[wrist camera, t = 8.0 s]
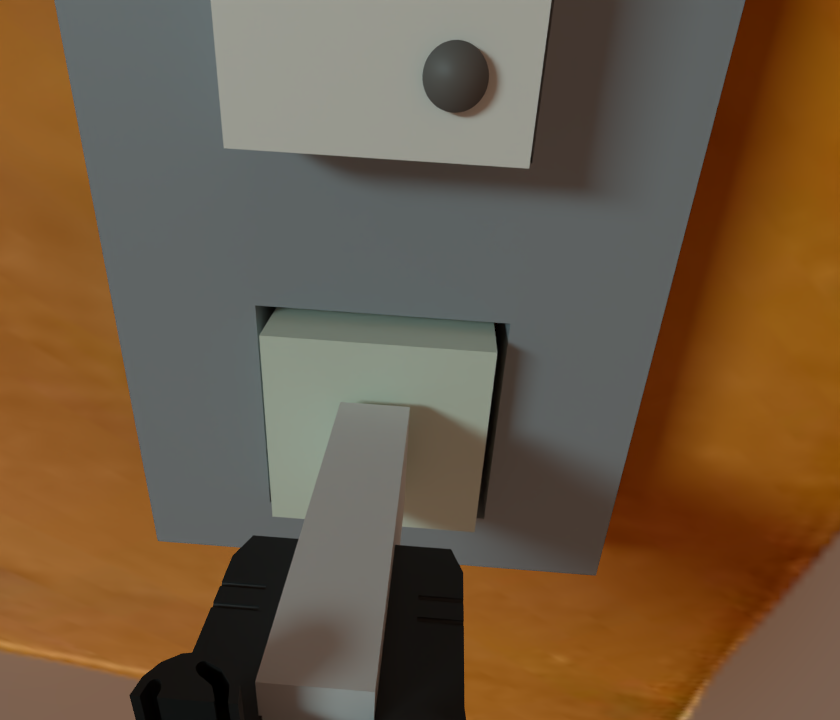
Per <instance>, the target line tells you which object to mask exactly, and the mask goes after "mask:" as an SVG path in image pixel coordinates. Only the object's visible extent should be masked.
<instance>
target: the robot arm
mask: <svg viewBox="0 0 840 720" xmlns="http://www.w3.org/2000/svg"><path fill="white" fill-rule="evenodd" d="M409 414H410V407H402V406H389V405H375V404H362V403H349V402H340V405H339V408H338V411H337V415H336V418H335V421H334V425H333V428H332V431H331V434H330V438H329V441H328V444H327V448H326V451H325V454H324V457H323V461H322V464H321V467H320V471H319V474H318V477H317V480H316V484H315V487H314V490H313V494H312V497H311V500H310V503H309V507H308V510H307V513H306V516H305V520H304V523H303V526H302V530H301V533H300V536H299V539H294V538H282V537H269V536H256V535H253V536H252V537H251V538H250V539H249V540H248V541H247V542H246V543H245V544H244V545H243V546H242V547H241V548H240V549H239V550H238V551H237V552H236V553H235V554H234V555H233V556H232V559H231V561H230V564H229V566H228V568H227V571H226V573H225V576H224V578H223V580H222V586H220V588H219V590H218V592H217V595H216V597H215V600H214V602H213V603H214V604H213V607H211V609H210V612H209V614H208V616H207V619H206V621H205V624H204V626H203V628H202V631H201V633H200V636H199V638H198V640H197V643H196V645H195V647H194V650H193V652H192V653H183V654H180V655H177V656H175V657H173V658H170V659H168V660H165V661H163V662H161V663H159V664H158V665H157V666H156V667H154V668H153V669H152V670H150V671H149V672H148V673H147V674H145V675H144V676H143V677H142V678H141V680H140V681H139V683H138V684H137V685H136V687H135V688H134V690H133V691H132V693H131V694H130V699H131V702H132V706H133V711H134V714H135V718H136V720H466V716H465V709H464V626H463V621H464V619H463V571H462V570H461V568H460V566H459V564H458V562H457V560H456V558H455V556H454V554H453V552H452V550H451V549H443V548H431V547H418V546H405V545H400V541H401V531H402V522H403V513H404V503H405V485H406V467H407V449H408V432H409Z"/></svg>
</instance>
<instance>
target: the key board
mask: <svg viewBox="0 0 840 720" xmlns="http://www.w3.org/2000/svg"><path fill="white" fill-rule="evenodd" d="M744 3H745V0H552V1H551V8H550V16H549V23H548V31H547V38H546V46H545V53H544V61H543V68H542V76H541V83H540V91H539V98H538V106H537V113H536V121H535V128H534V136H533V143H532V151H531V158H530V166H529V169H527V168H512V167H497V166H482V165H467V164H452V163H437V162H422V161H407V160H392V159H377V158H362V157H348V156H333V155H318V154H303V153H288V152H273V151H258V150H243V149H228V148H224V146H223V134H222V123H221V112H220V101H219V90H218V78H217V67H216V56H215V45H214V34H213V22H212V11H211V0H55V5H56V11H57V16H58V21H59V26H60V31H61V37H62V42H63V47H64V52H65V58H66V63H67V68H68V73H69V79H70V84H71V89H72V94H73V99H74V105H75V110H76V115H77V120H78V126H79V131H80V136H81V141H82V147H83V152H84V157H85V162H86V167H87V173H88V178H89V183H90V188H91V194H92V199H93V204H94V209H95V215H96V220H97V225H98V230H99V235H100V241H101V246H102V251H103V256H104V262H105V267H106V272H107V277H108V283H109V288H110V293H111V298H112V303H113V309H114V314H115V319H116V324H117V330H118V335H119V340H120V345H121V351H122V356H123V361H124V366H125V371H126V377H127V382H128V387H129V392H130V398H131V403H132V408H133V413H134V419H135V424H136V429H137V434H138V439H139V445H140V450H141V455H142V460H143V466H144V471H145V476H146V481H147V486H148V492H149V497H150V502H151V507H152V513H153V518H154V523H155V528H156V534H157V539H158V541H166V542H178V543H191V544H204V545H216V546H229V547H242V546H243V545H244V544H245V543H246V542H247V541H248V540H249V539H250V538H251V537H252V536H253V535H256V536H269V537H282V538H294V539H299V536H300V533H301V530H302V526H303V523H304V520H305V519H298V518H285V517H272V503H271V489H270V476H269V462H268V449H267V435H266V422H265V408H264V394H263V381H262V367H261V354H260V340H259V335H260V333H261V332H262V330H263V328H264V327H265V325H266V324H267V322H268V320H269V319H270V317H271V316H272V314H273V312H274V311H275V309H276V307H285V308H299V309H313V310H327V311H341V312H355V313H369V314H383V315H397V316H411V317H425V318H439V319H453V320H467V321H481V322H495V323H498V328H497V336H496V345H497V360H496V368H495V376H494V383H493V391H492V399H491V407H490V415H489V423H488V430H487V438H486V446H485V454H484V462H483V470H482V478H481V485H480V493H479V501H478V509H477V517H476V525H475V532H465V531H452V530H439V529H426V528H413V527H402V531H401V541H400V545H405V546H418V547H431V548H443V549H451V550H452V552H453V554H454V556H455V558H456V560H457V562H458V564H459V565H470V566H483V567H495V568H508V569H521V570H533V571H546V572H559V573H571V574H584V575H596V572H597V568H598V565H599V561H600V557H601V553H602V549H603V545H604V541H605V538H606V534H607V530H608V526H609V522H610V518H611V515H612V511H613V507H614V503H615V499H616V495H617V492H618V488H619V484H620V480H621V476H622V472H623V468H624V465H625V461H626V457H627V453H628V449H629V445H630V442H631V438H632V434H633V430H634V426H635V422H636V418H637V415H638V411H639V407H640V403H641V399H642V395H643V392H644V388H645V384H646V380H647V376H648V372H649V369H650V365H651V361H652V357H653V353H654V349H655V345H656V342H657V338H658V334H659V330H660V326H661V322H662V319H663V315H664V311H665V307H666V303H667V299H668V295H669V292H670V288H671V284H672V280H673V276H674V272H675V269H676V265H677V261H678V257H679V253H680V249H681V246H682V242H683V238H684V234H685V230H686V226H687V222H688V219H689V215H690V211H691V207H692V203H693V199H694V196H695V192H696V188H697V184H698V180H699V176H700V172H701V169H702V165H703V161H704V157H705V153H706V149H707V146H708V142H709V138H710V134H711V130H712V126H713V123H714V119H715V115H716V111H717V107H718V103H719V99H720V96H721V92H722V88H723V84H724V80H725V76H726V73H727V69H728V65H729V61H730V57H731V53H732V49H733V46H734V42H735V38H736V34H737V30H738V26H739V23H740V19H741V15H742V11H743V7H744Z"/></svg>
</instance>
